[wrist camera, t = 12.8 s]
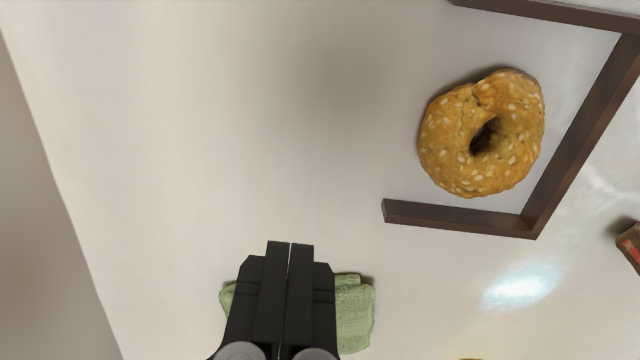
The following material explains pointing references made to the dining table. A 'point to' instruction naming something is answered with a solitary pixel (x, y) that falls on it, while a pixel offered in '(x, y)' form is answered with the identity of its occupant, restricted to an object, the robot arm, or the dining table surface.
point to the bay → (585, 131)
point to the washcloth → (339, 312)
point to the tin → (631, 245)
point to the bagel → (496, 146)
